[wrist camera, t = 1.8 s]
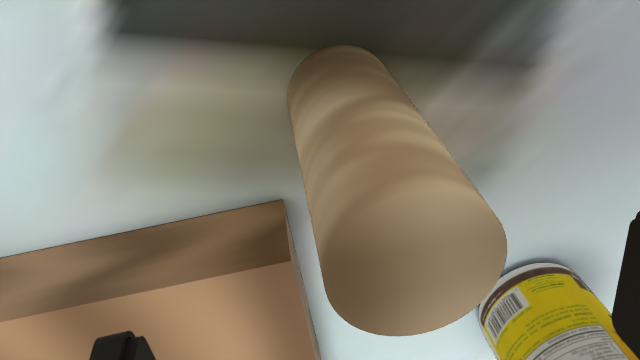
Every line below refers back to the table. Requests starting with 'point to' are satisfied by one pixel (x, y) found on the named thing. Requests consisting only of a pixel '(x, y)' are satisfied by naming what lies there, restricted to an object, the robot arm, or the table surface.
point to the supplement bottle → (548, 318)
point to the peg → (387, 200)
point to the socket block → (164, 292)
